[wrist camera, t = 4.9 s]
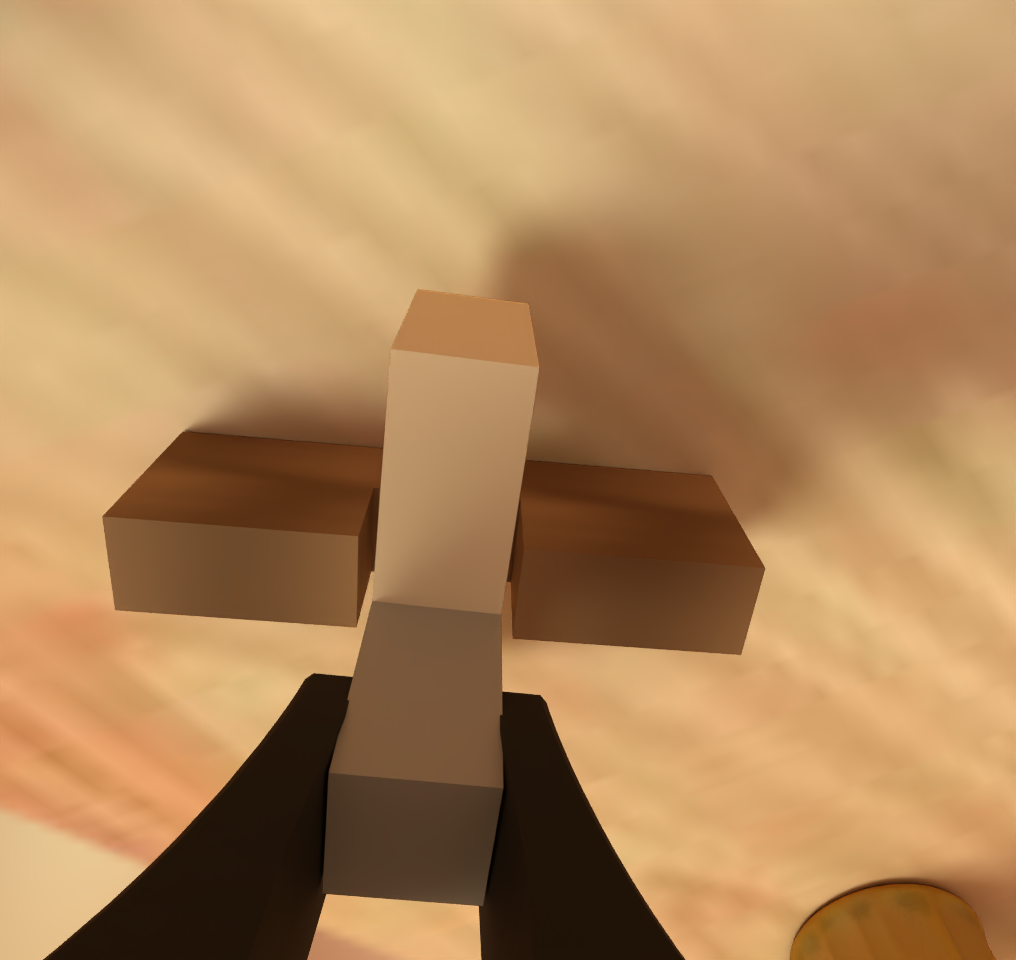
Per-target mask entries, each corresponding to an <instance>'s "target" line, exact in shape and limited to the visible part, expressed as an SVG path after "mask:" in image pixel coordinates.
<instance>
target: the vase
mask: <svg viewBox="0 0 1016 960" xmlns="http://www.w3.org/2000/svg"><path fill="white" fill-rule="evenodd" d="M790 960H996V959H995V957H994V955H993V954H992V952H991V950H990V948H989V946H988V944H987V941H986V937H985V933H984V930H983V927H982V925H981V922H980V920H979V918H978V916H977V915H976V913H975V912H974V911H973V910H972V908H971V907H970V906H969V905H968V904H967V903H966V902H964V901H963V900H962V899H960V898H959V897H957V896H955V895H953V894H951V893H949V892H946V891H944V890H941V889H938V888H935V887H931V886H926V885H919V884H890V885H882V886H876V887H871V888H867V889H863V890H860V891H857V892H854V893H851V894H849V895H846V896H844V897H842V898H840V899H838V900H836V901H834V902H832V903H831V904H829V905H827V906H826V907H824V908H823V909H821V910H820V911H818V912H817V913H816V914H815V915H813V916H812V917H811V918H810V919H809V920H808V921H807V922H806V924H805V925H804V926H803V927H802V929H801V930H800V931H799V933H798V935H797V936H796V938H795V940H794V942H793V945H792V948H791V952H790Z"/></svg>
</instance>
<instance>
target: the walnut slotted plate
mask: <svg viewBox="0 0 1016 960" xmlns="http://www.w3.org/2000/svg"><path fill="white" fill-rule="evenodd" d="M382 462H383V448H372V447H361V446H349V445H337V444H325V443H313V442H301V441H289V440H277V439H265V438H254V437H242V436H230V435H218V434H206V433H194V432H182V433H181V434H180V435H179V436H178V437H177V438H176V439H175V440H174V441H173V442H172V444H171V445H170V446H169V447H168V448H167V449H166V450H165V451H164V452H163V453H162V454H161V455H160V456H159V457H158V458H157V459H156V460H155V461H154V463H153V464H152V465H151V466H150V467H149V468H148V469H147V470H146V471H145V472H144V473H143V474H142V475H141V476H140V477H139V478H138V479H137V480H136V482H135V483H134V484H133V485H132V486H131V487H130V488H129V489H128V490H127V491H126V492H125V493H124V494H123V495H122V496H121V497H120V498H119V499H118V501H117V502H116V503H115V504H114V505H113V506H112V507H111V508H110V509H109V510H108V511H107V512H106V513H105V514H104V515H103V516H102V517H103V525H104V532H105V539H106V547H107V554H108V561H109V568H110V576H111V583H112V590H113V597H114V605H115V610H120V611H134V612H148V613H162V614H176V615H190V616H204V617H218V618H232V619H246V620H260V621H274V622H288V623H302V624H316V625H330V626H344V627H357V623H358V619H359V616H360V612H361V608H362V604H363V601H364V597H365V593H366V589H367V585H368V582H369V578H370V574H371V571H373V572H374V571H375V557H376V544H377V530H378V516H379V503H380V489H381V475H382ZM764 571H765V567H764V565H763V563H762V562H761V560H760V558H759V556H758V555H757V553H756V551H755V550H754V548H753V546H752V544H751V543H750V541H749V539H748V537H747V536H746V534H745V532H744V531H743V529H742V527H741V525H740V524H739V522H738V520H737V519H736V517H735V515H734V513H733V512H732V510H731V508H730V506H729V505H728V503H727V501H726V500H725V498H724V496H723V494H722V493H721V491H720V489H719V487H718V486H717V484H716V482H715V481H714V479H713V477H712V476H705V475H693V474H682V473H670V472H658V471H646V470H634V469H622V468H610V467H598V466H586V465H575V464H563V463H551V462H539V461H527V460H525V465H524V471H523V477H522V484H521V490H520V497H519V503H518V510H517V516H516V523H515V529H514V536H513V542H512V549H511V555H510V562H509V568H508V575H507V581H506V582H511V600H512V630H513V639H526V640H540V641H554V642H568V643H582V644H596V645H610V646H624V647H638V648H652V649H666V650H680V651H694V652H708V653H722V654H736V655H741V653H742V650H743V646H744V643H745V639H746V635H747V632H748V628H749V625H750V621H751V617H752V614H753V610H754V607H755V603H756V599H757V596H758V592H759V589H760V585H761V581H762V578H763V574H764Z"/></svg>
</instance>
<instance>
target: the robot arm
mask: <svg viewBox="0 0 1016 960" xmlns="http://www.w3.org/2000/svg"><path fill="white" fill-rule="evenodd" d="M352 679H353V677H346V676H336V675H326V674H315V673H314V674H312V675H311V676H309V677H308V678H306V679H305V680H304V682H303V684H302V685H301V687H300V688H299V690H298V692H297V693H296V695H295V696H294V698H293V699H292V701H291V702H290V704H289V705H288V706H287V708H286V709H285V711H284V712H283V713H282V715H281V716H280V718H279V719H278V720H277V722H276V723H275V724H274V726H273V727H272V728H271V730H270V731H269V732H268V734H267V735H266V736H265V737H264V739H263V740H262V741H261V743H260V744H259V745H258V746H257V748H256V749H255V750H254V751H253V753H252V754H251V755H250V756H249V757H248V759H247V760H246V761H245V762H244V763H243V765H242V766H241V767H240V768H239V770H238V771H237V772H236V773H235V774H234V776H233V777H232V778H231V779H230V780H229V782H228V783H227V784H226V785H225V786H224V787H223V789H222V790H221V791H220V792H219V793H218V794H217V795H216V796H215V797H214V799H213V800H212V801H211V802H210V803H209V804H208V805H207V806H206V807H205V808H204V809H203V810H202V812H201V813H200V814H199V815H198V816H197V817H196V818H195V819H194V820H193V821H192V822H191V824H190V825H189V826H188V827H187V828H186V829H185V830H184V831H183V832H182V833H181V834H180V835H179V836H178V837H177V839H176V840H175V841H174V842H173V843H172V844H171V845H170V846H169V847H168V848H167V849H166V850H165V851H164V852H163V853H162V854H161V855H160V856H159V857H158V858H157V859H156V860H155V861H154V862H153V863H152V864H151V865H150V866H148V867H147V868H146V869H145V870H144V871H143V872H142V873H141V874H140V875H139V876H138V877H137V878H136V879H135V880H134V881H133V882H132V883H131V884H130V885H128V886H127V887H126V888H125V889H124V890H123V891H122V892H121V893H120V894H119V895H118V896H117V897H116V898H114V899H113V900H112V901H111V902H110V903H109V904H108V905H107V906H105V907H104V908H103V909H102V910H101V911H100V912H99V913H98V914H96V915H95V916H94V917H93V918H92V919H91V920H89V921H88V922H87V923H86V924H85V925H84V926H82V927H81V928H80V929H79V930H78V931H77V932H75V933H74V934H73V935H72V936H71V937H70V938H68V939H67V940H66V941H65V942H64V943H63V944H62V945H61V946H59V947H58V948H57V949H56V950H54V951H53V952H52V953H51V954H49V955H48V956H47V957H46V958H45V959H43V960H307V958H308V955H309V951H310V948H311V944H312V941H313V937H314V934H315V931H316V927H317V924H318V920H319V917H320V914H321V910H322V907H323V903H324V900H325V896H326V894H322V893H323V874H324V854H325V835H326V815H327V796H328V776H329V770H330V766H331V762H332V758H333V754H334V750H335V746H336V742H337V738H338V735H339V733H340V730H341V727H342V725H343V722H344V719H345V716H346V712H347V708H348V704H349V700H347V699H348V695H349V691H350V687H351V683H352ZM500 735H501V743H502V751H503V793H502V799H501V804H500V810H499V816H498V822H497V827H496V833H495V839H494V844H493V850H492V856H491V862H490V867H489V873H488V879H487V885H486V890H485V896H484V902H483V906H479V918H480V938H481V958H482V960H685V958H684V957H683V956H682V954H681V953H680V952H679V950H678V949H677V948H676V946H675V945H674V943H673V942H672V940H671V939H670V937H669V936H668V934H667V933H666V932H665V930H664V929H663V927H662V926H661V924H660V923H659V921H658V920H657V918H656V917H655V915H654V914H653V912H652V911H651V909H650V908H649V906H648V905H647V903H646V902H645V900H644V898H643V897H642V895H641V894H640V892H639V890H638V889H637V887H636V886H635V884H634V882H633V881H632V879H631V877H630V876H629V874H628V872H627V871H626V869H625V867H624V866H623V864H622V862H621V860H620V859H619V857H618V855H617V854H616V852H615V850H614V849H613V847H612V845H611V843H610V841H609V839H608V838H607V836H606V834H605V832H604V830H603V829H602V827H601V825H600V823H599V821H598V819H597V817H596V815H595V813H594V811H593V809H592V807H591V805H590V803H589V801H588V799H587V797H586V795H585V793H584V792H583V790H582V788H581V785H580V783H579V781H578V779H577V777H576V775H575V773H574V771H573V768H572V766H571V764H570V762H569V759H568V757H567V755H566V753H565V750H564V748H563V746H562V743H561V741H560V738H559V736H558V733H557V731H556V728H555V726H554V723H553V720H552V718H551V715H550V712H549V709H548V706H547V703H546V701H545V700H544V699H543V698H542V697H541V695H533V694H522V693H512V692H502V715H500Z"/></svg>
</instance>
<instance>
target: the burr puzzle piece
mask: <svg viewBox="0 0 1016 960" xmlns="http://www.w3.org/2000/svg"><path fill="white" fill-rule="evenodd" d="M538 374H539V362H538V356H537V350H536V345H535V339H534V333H533V327H532V322H531V316H530V310H529V304H528V303H520V302H513V301H505V300H497V299H490V298H482V297H474V296H467V295H459V294H452V293H444V292H436V291H429V290H421V289H417V292H416V294H415V296H414V298H413V301H412V303H411V305H410V307H409V309H408V312H407V314H406V316H405V318H404V321H403V323H402V325H401V327H400V329H399V332H398V334H397V336H396V338H395V340H394V343H393V345H392V347H391V352H390V366H389V379H388V393H387V407H386V420H385V434H384V448H383V462H382V475H381V489H380V503H379V516H378V530H377V544H376V557H375V571H374V585H373V598H372V604H371V608H370V612H369V616H368V620H367V624H366V628H365V632H364V636H363V640H362V644H361V648H360V652H359V655H358V659H357V663H356V667H355V671H354V675H353V679H352V683H351V687H350V691H349V695H348V699H347V700H349V704H348V708H347V712H346V716H345V719H344V722H343V725H342V727H341V730H340V733H339V735H338V738H337V742H336V746H335V750H334V754H333V758H332V762H331V766H330V770H329V776H328V796H327V815H326V835H325V854H324V874H323V893H322V894H334V895H347V896H360V897H372V898H385V899H398V900H411V901H424V902H437V903H449V904H462V905H475V906H483V902H484V896H485V890H486V885H487V879H488V873H489V867H490V862H491V856H492V850H493V844H494V839H495V833H496V827H497V822H498V816H499V810H500V804H501V799H502V793H503V751H502V743H501V735H500V715H502V629H501V613H502V607H503V600H504V594H505V588H506V581H507V575H508V568H509V562H510V555H511V549H512V542H513V536H514V529H515V523H516V516H517V510H518V503H519V497H520V490H521V484H522V477H523V471H524V465H525V458H526V452H527V445H528V439H529V432H530V426H531V419H532V413H533V406H534V400H535V393H536V387H537V380H538Z"/></svg>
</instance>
